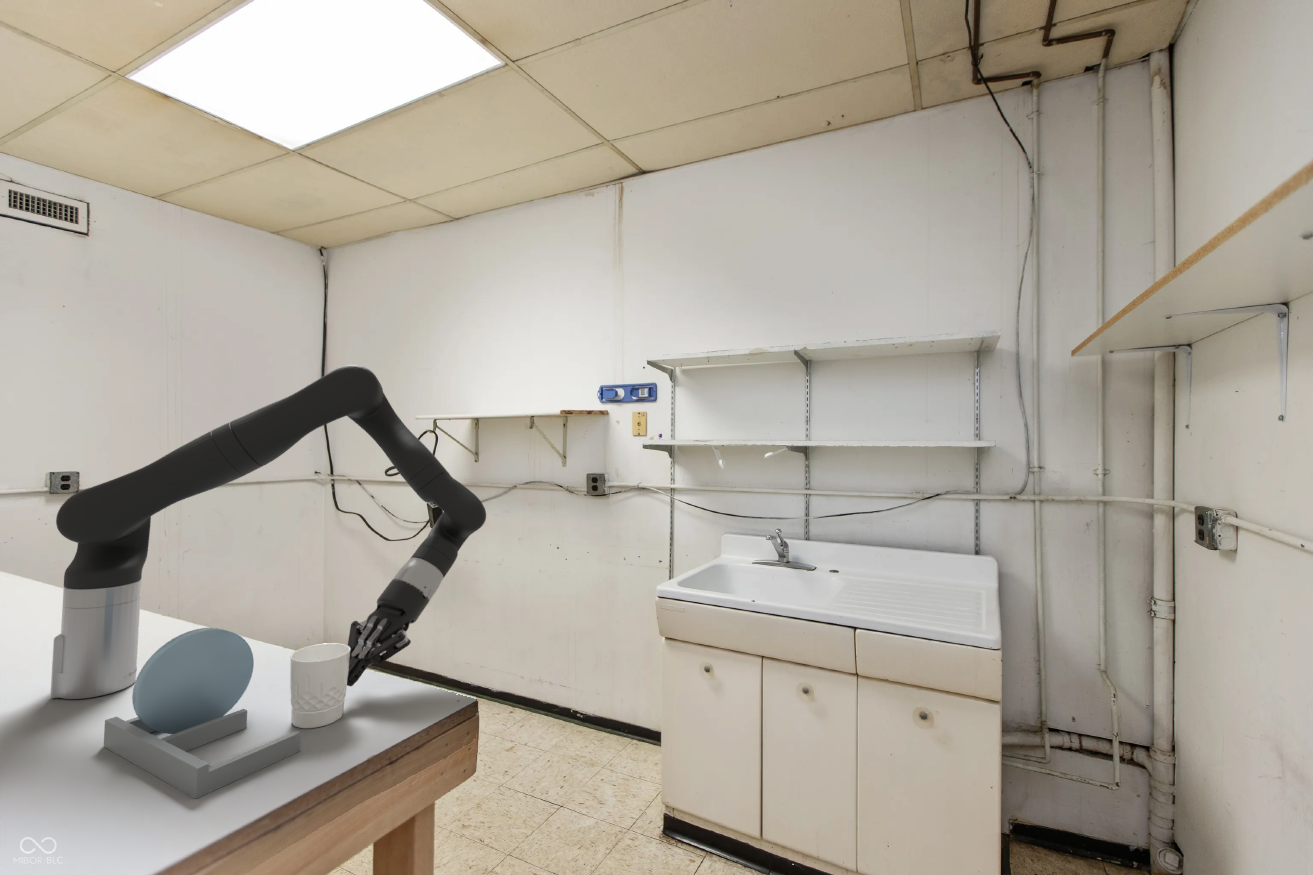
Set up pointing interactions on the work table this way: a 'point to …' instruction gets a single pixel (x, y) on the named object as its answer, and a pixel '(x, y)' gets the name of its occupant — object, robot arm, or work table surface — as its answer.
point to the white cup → (318, 684)
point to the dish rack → (193, 712)
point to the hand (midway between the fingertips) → (344, 683)
